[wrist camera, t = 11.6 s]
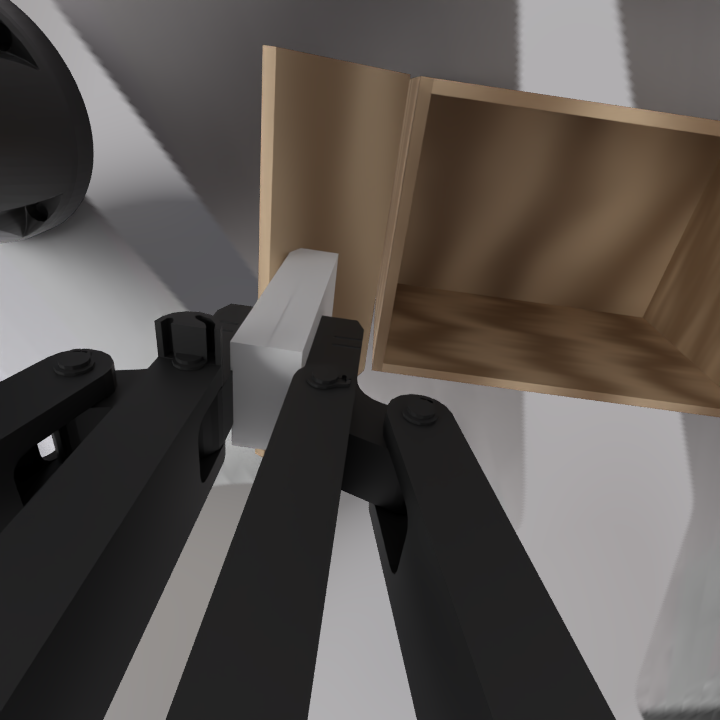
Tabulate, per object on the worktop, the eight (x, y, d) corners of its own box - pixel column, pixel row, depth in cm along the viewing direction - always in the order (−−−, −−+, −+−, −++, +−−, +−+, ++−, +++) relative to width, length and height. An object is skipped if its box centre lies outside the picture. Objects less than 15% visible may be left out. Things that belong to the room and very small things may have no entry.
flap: (276, 46, 11) (263, 45, 11) (263, 457, 18) (255, 453, 18) (410, 74, 17) (400, 73, 17) (364, 370, 24) (357, 367, 24)
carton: (376, 284, 34) (371, 370, 24) (408, 79, 28) (420, 76, 17) (643, 321, 35) (751, 421, 24) (736, 128, 28) (939, 153, 18)
